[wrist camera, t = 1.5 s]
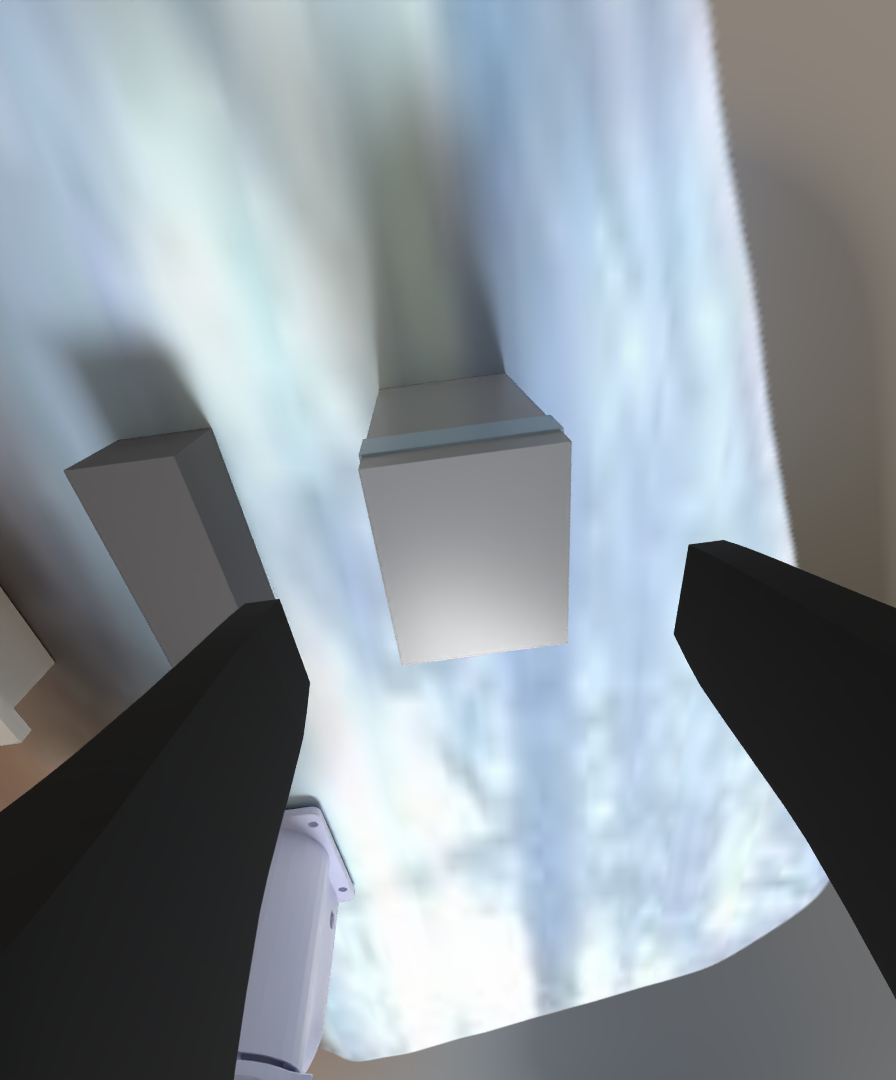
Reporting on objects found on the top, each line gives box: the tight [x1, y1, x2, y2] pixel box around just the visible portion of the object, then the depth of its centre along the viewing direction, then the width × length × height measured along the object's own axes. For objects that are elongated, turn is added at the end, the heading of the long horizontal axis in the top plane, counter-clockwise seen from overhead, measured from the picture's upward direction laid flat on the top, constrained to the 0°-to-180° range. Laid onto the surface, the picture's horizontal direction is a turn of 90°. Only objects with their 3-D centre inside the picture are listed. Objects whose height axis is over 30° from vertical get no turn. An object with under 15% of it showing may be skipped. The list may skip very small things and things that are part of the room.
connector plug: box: [358, 373, 572, 666], centre depth 14 cm, size 9×4×7 cm, turn 6°
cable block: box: [64, 428, 275, 668], centre depth 16 cm, size 10×3×3 cm, turn 6°
